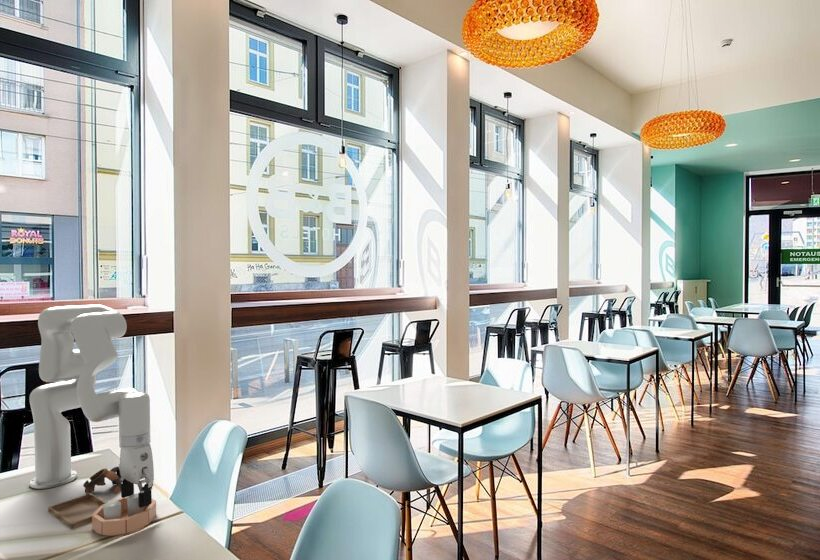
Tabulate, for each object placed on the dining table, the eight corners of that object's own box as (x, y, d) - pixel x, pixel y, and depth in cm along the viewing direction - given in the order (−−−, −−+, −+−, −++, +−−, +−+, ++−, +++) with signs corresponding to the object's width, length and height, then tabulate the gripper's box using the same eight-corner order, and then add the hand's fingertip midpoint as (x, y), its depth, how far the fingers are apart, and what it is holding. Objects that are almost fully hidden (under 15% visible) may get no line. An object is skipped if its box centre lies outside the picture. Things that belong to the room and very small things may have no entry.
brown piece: (113, 501, 150) (96, 480, 148) (89, 512, 152) (72, 492, 150) (137, 475, 162) (121, 455, 160) (114, 485, 164) (98, 466, 162)
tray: (48, 513, 142) (48, 507, 142) (91, 498, 151) (91, 492, 151) (71, 531, 132) (71, 524, 132) (116, 514, 141) (116, 507, 141)
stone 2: (139, 511, 141) (139, 492, 141) (147, 515, 139) (146, 495, 139) (125, 517, 138) (124, 497, 138) (132, 521, 136) (131, 501, 135)
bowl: (85, 526, 135) (84, 510, 135) (139, 506, 146) (138, 491, 146) (109, 543, 126) (108, 526, 126) (164, 520, 138) (164, 505, 138)
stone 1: (115, 520, 136) (114, 500, 136) (125, 523, 135) (124, 502, 135) (100, 527, 133) (100, 506, 133) (110, 530, 131) (109, 509, 131)
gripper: (165, 441, 136) (166, 504, 136) (133, 429, 146) (135, 487, 147) (136, 449, 130) (137, 515, 130) (105, 436, 140) (107, 497, 141)
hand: (136, 500), depth 138 cm, fingers open, 9 cm apart
